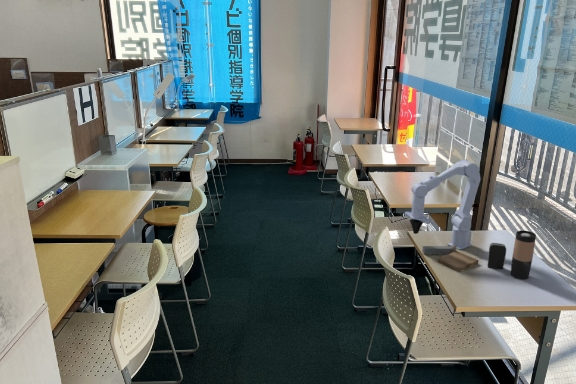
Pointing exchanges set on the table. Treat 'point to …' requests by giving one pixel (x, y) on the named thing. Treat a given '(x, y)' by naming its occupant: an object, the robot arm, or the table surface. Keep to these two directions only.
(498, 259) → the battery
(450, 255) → the stool seat
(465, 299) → the table surface
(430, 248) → the gray rectangular bar
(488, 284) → the table surface
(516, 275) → the travel mug
